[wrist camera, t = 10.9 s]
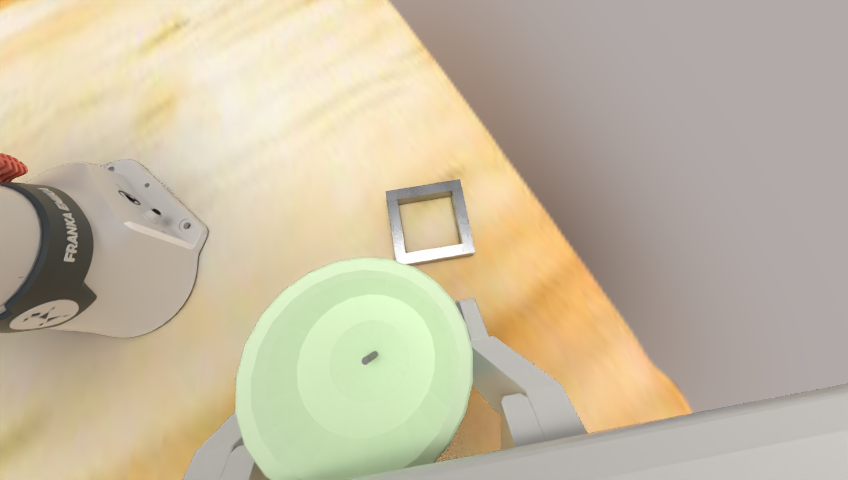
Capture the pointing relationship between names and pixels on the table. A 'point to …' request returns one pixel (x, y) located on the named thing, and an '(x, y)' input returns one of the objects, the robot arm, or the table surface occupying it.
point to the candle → (354, 373)
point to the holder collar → (424, 194)
